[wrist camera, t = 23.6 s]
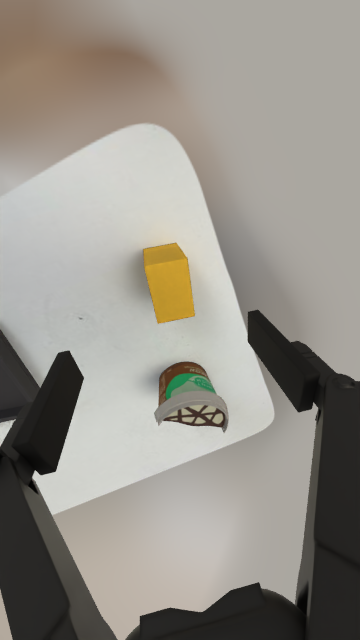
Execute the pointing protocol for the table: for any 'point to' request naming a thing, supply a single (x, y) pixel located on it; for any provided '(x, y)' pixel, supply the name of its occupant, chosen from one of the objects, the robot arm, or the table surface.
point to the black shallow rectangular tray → (14, 382)
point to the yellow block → (169, 282)
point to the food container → (190, 398)
